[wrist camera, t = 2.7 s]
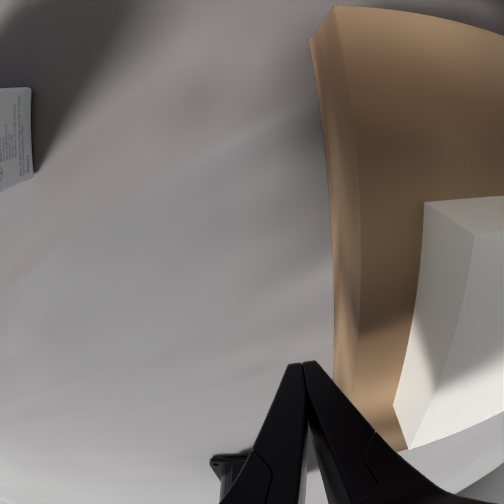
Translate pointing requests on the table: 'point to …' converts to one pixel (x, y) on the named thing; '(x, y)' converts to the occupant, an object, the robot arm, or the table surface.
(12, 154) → the medicine box
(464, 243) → the white rectangular block
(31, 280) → the table surface
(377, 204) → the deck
